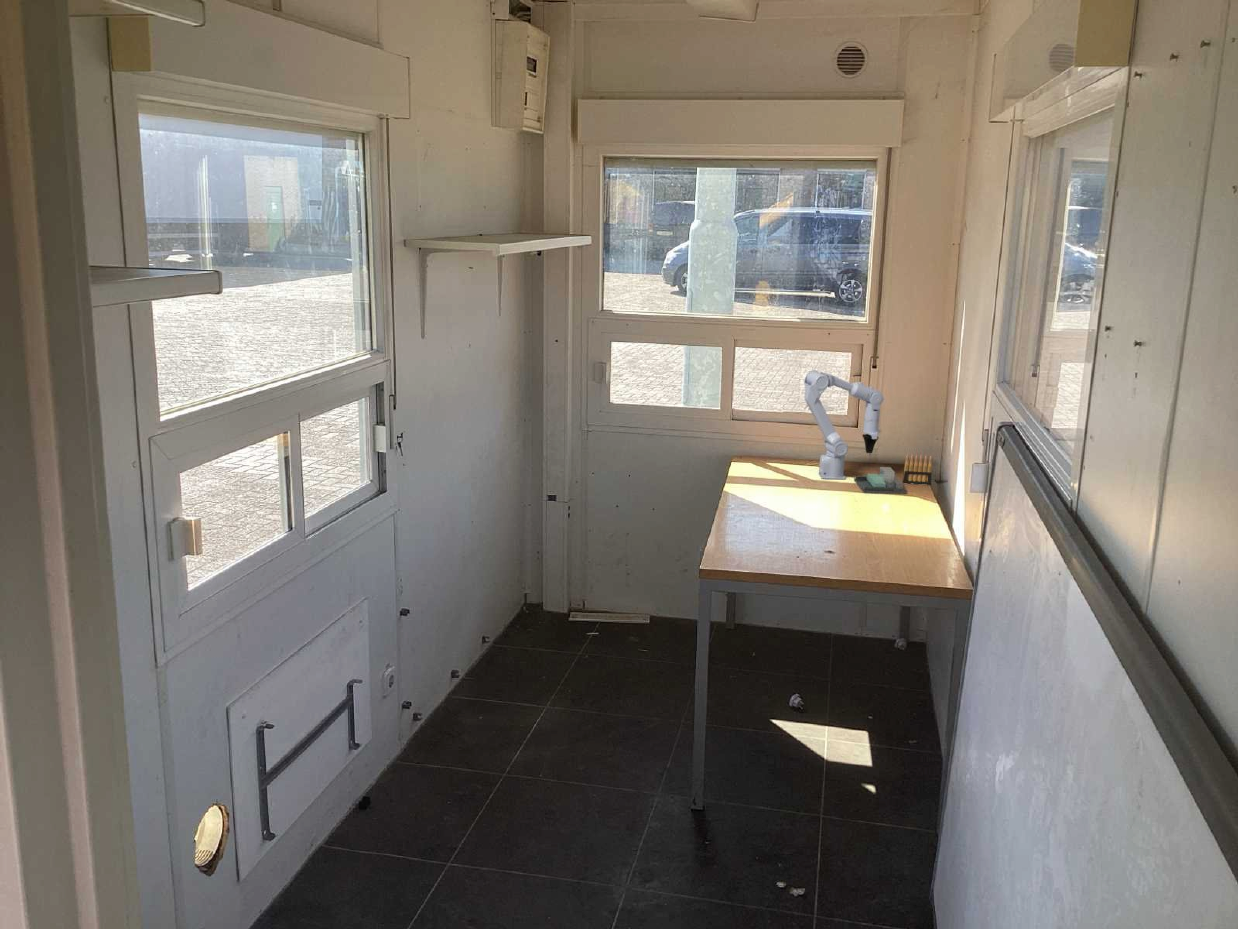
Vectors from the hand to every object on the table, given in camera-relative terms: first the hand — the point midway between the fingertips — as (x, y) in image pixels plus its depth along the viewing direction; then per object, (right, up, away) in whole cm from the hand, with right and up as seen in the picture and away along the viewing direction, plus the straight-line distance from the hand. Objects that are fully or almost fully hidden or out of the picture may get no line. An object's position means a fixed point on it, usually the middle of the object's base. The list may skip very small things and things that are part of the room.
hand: (869, 452), depth 432 cm
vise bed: (+1, -13, -14) cm, 19 cm away
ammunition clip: (+17, -12, -8) cm, 22 cm away
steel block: (+3, -12, -14) cm, 19 cm away
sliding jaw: (-1, -12, -14) cm, 19 cm away
